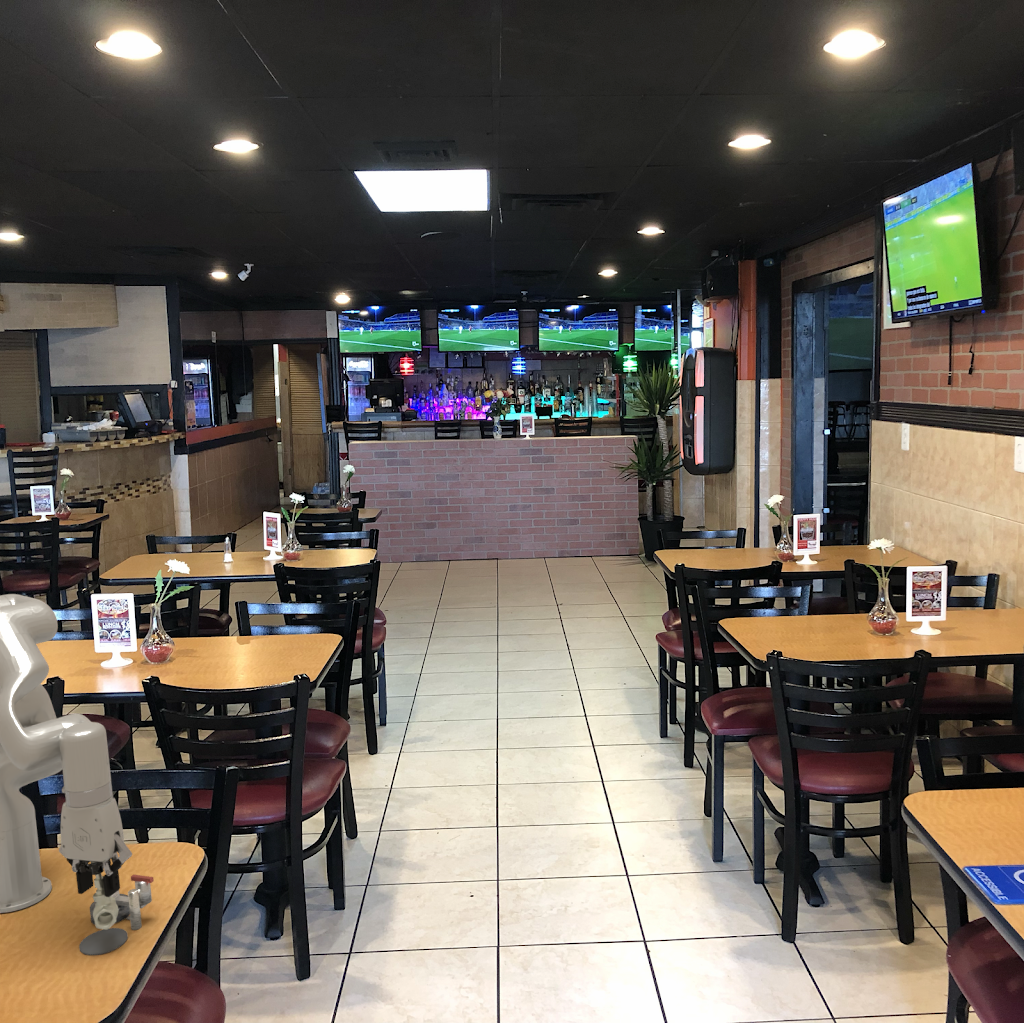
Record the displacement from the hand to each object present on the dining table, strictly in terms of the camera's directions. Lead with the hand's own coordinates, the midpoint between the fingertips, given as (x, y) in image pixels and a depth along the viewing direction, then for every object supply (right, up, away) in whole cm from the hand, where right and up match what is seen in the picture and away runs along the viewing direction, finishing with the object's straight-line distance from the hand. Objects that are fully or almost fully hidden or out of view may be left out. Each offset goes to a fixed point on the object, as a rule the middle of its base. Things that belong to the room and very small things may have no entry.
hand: (99, 890), depth 166 cm
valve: (+2, -6, -1) cm, 6 cm away
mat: (0, -10, +1) cm, 10 cm away
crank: (+2, -6, +9) cm, 11 cm away
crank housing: (0, -9, +10) cm, 13 cm away
